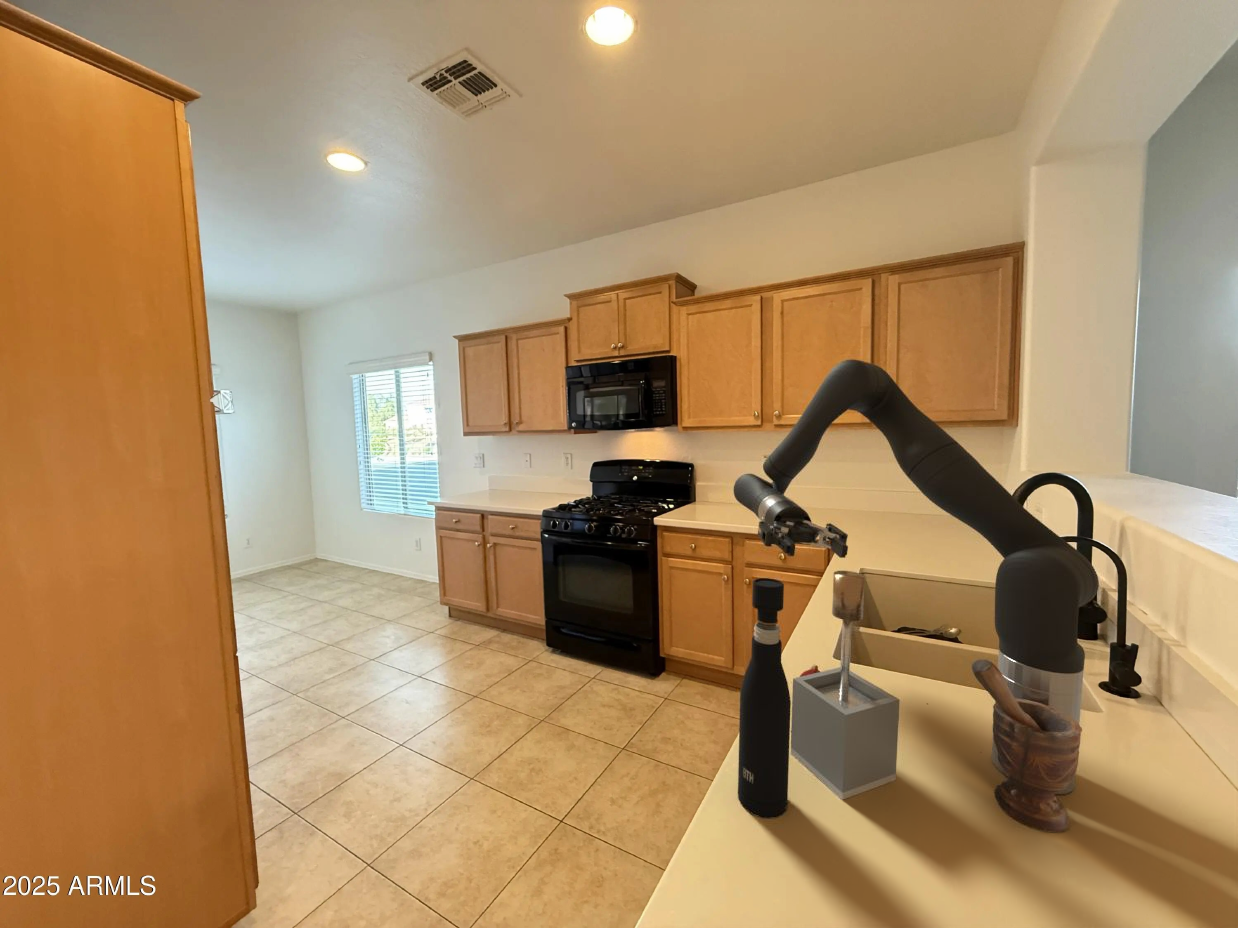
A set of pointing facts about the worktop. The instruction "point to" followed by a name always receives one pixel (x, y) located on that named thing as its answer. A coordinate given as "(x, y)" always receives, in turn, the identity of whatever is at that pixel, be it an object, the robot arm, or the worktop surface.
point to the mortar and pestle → (1030, 753)
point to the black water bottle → (765, 711)
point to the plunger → (846, 634)
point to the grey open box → (845, 734)
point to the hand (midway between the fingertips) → (818, 551)
